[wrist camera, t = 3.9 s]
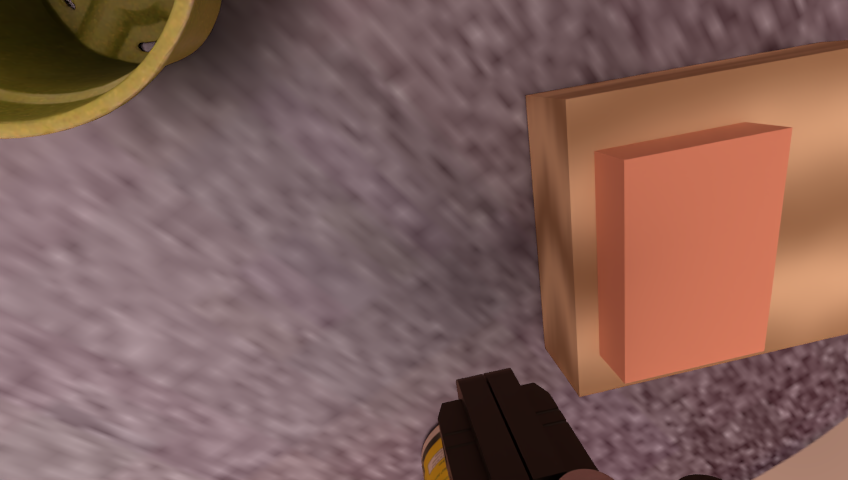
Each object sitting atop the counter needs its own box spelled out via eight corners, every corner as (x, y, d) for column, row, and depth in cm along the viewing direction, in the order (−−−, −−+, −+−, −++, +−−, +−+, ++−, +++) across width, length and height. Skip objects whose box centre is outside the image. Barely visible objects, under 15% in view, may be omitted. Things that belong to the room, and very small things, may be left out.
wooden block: (525, 95, 20) (565, 99, 16) (820, 42, 21) (922, 34, 17) (545, 347, 24) (579, 397, 20) (785, 293, 25) (860, 330, 22)
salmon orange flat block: (594, 150, 17) (624, 160, 15) (745, 121, 17) (792, 127, 15) (599, 355, 20) (625, 384, 18) (726, 326, 20) (764, 351, 18)
